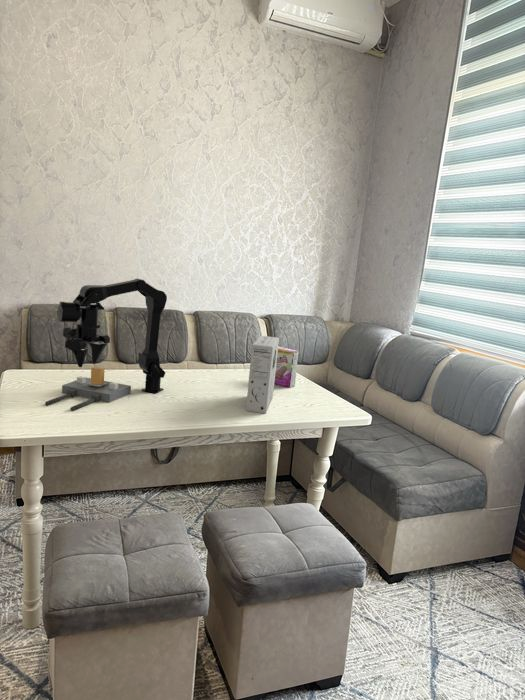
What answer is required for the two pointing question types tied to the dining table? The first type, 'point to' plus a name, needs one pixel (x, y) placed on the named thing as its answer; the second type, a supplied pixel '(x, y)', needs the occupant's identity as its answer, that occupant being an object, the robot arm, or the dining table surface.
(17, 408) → the dining table surface
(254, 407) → the cereal box
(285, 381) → the candy bar box
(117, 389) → the panel
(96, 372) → the breaker handle
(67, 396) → the twin dark prongs
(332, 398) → the dining table surface
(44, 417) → the dining table surface
